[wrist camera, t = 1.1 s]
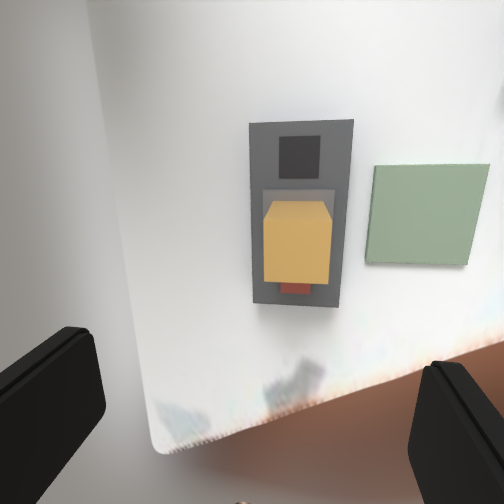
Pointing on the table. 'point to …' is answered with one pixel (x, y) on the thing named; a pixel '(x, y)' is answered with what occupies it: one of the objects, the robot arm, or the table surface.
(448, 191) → the mat
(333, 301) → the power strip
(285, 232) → the plug
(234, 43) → the table surface
